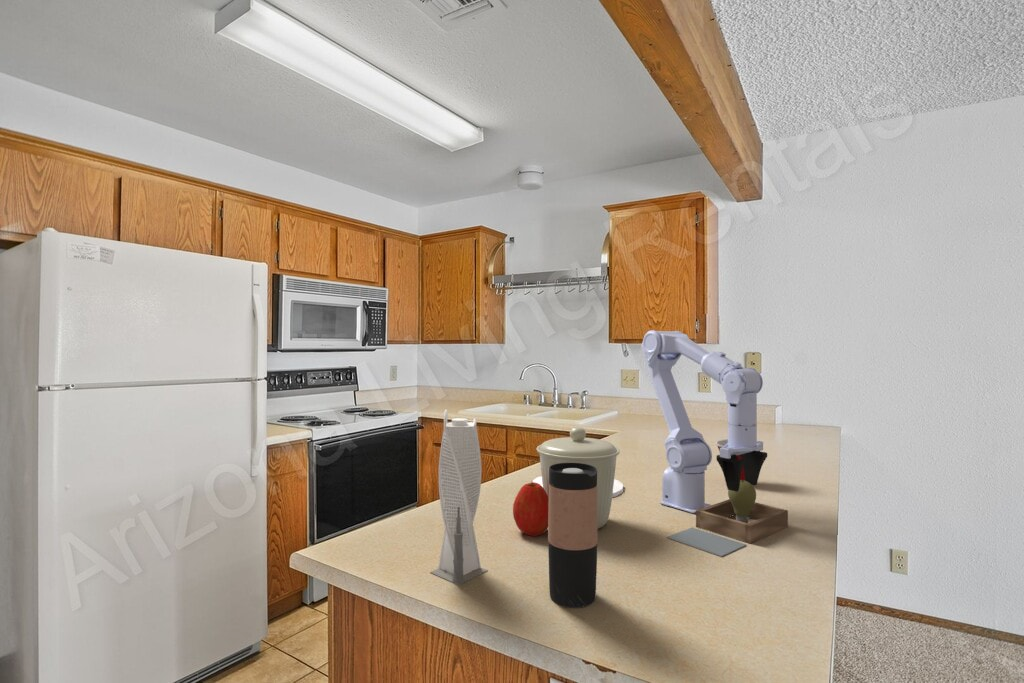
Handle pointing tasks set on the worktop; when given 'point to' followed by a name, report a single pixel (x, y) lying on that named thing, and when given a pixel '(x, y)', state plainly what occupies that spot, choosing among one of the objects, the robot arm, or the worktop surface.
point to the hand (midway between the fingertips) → (742, 487)
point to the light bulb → (742, 500)
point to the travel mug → (572, 534)
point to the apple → (531, 509)
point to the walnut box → (747, 532)
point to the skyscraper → (459, 500)
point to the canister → (586, 453)
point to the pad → (707, 541)
